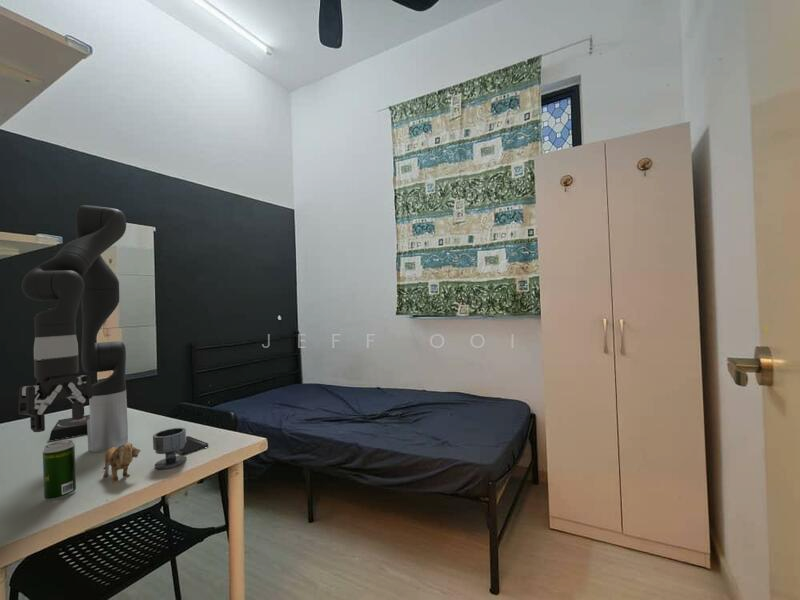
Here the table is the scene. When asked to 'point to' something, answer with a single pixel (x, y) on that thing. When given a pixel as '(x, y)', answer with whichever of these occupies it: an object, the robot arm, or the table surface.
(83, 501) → the table surface
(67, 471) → the green drink can
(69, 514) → the table surface
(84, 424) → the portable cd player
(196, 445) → the phone
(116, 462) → the lion figurine
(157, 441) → the cup bracket
